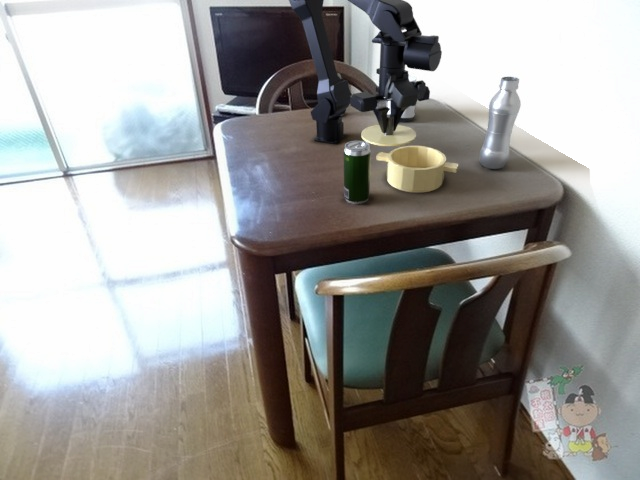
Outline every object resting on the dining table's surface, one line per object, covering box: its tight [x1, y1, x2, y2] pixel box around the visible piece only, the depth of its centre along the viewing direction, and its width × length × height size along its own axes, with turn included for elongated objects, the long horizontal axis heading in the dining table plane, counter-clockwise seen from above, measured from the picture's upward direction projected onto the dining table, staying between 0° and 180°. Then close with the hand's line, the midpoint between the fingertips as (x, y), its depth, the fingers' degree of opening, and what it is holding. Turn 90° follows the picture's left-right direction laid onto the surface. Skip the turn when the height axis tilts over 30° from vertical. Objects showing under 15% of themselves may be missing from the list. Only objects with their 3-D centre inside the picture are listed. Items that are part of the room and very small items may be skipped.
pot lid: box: [360, 113, 417, 147], centre depth 106 cm, size 13×13×6 cm
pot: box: [375, 145, 459, 194], centre depth 97 cm, size 12×18×6 cm
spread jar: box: [384, 75, 418, 123], centre depth 129 cm, size 12×11×12 cm
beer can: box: [343, 140, 372, 205], centre depth 89 cm, size 5×5×12 cm
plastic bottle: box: [478, 76, 522, 170], centre depth 96 cm, size 6×7×20 cm
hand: (388, 131), depth 107 cm, fingers closed on pot lid, 2 cm apart
